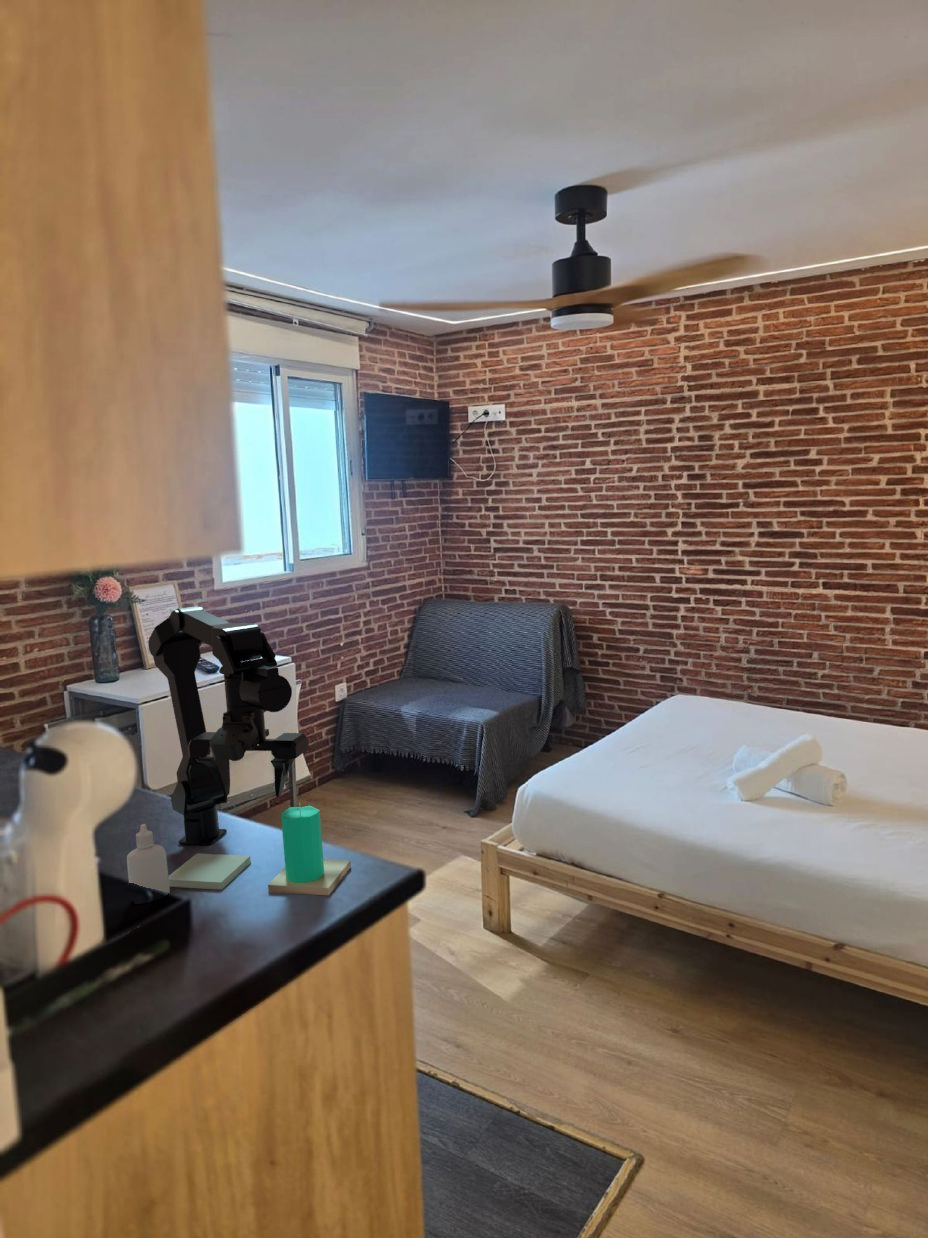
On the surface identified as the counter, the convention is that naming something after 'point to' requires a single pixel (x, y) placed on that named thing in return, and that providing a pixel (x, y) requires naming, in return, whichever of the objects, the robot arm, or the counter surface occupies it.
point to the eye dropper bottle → (148, 863)
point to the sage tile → (208, 871)
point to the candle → (302, 844)
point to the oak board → (321, 886)
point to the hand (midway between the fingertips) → (252, 796)
